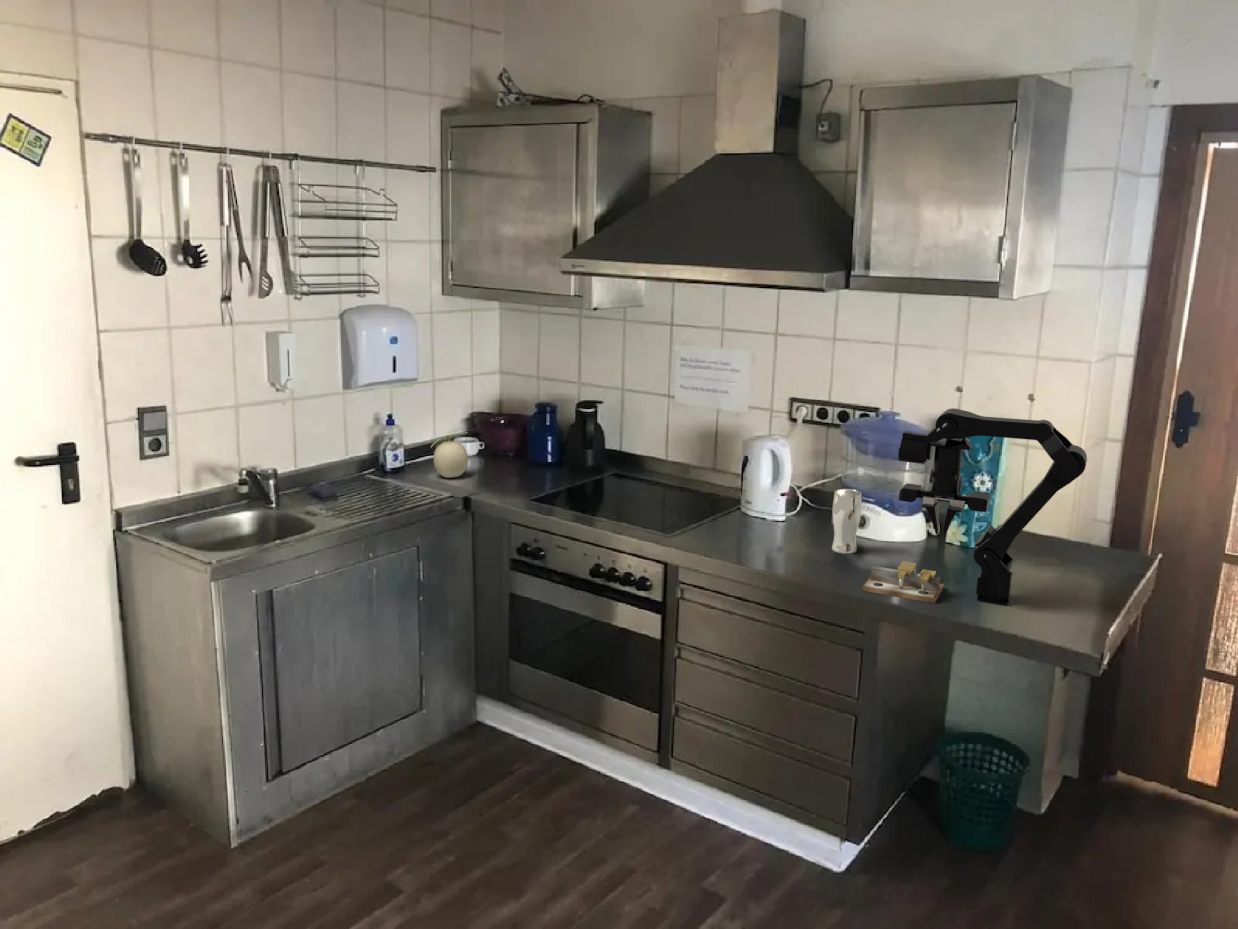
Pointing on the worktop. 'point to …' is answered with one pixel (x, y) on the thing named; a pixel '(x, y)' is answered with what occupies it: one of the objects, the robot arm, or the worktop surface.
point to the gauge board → (905, 584)
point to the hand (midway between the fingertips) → (940, 534)
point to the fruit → (450, 457)
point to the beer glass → (846, 520)
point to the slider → (905, 571)
